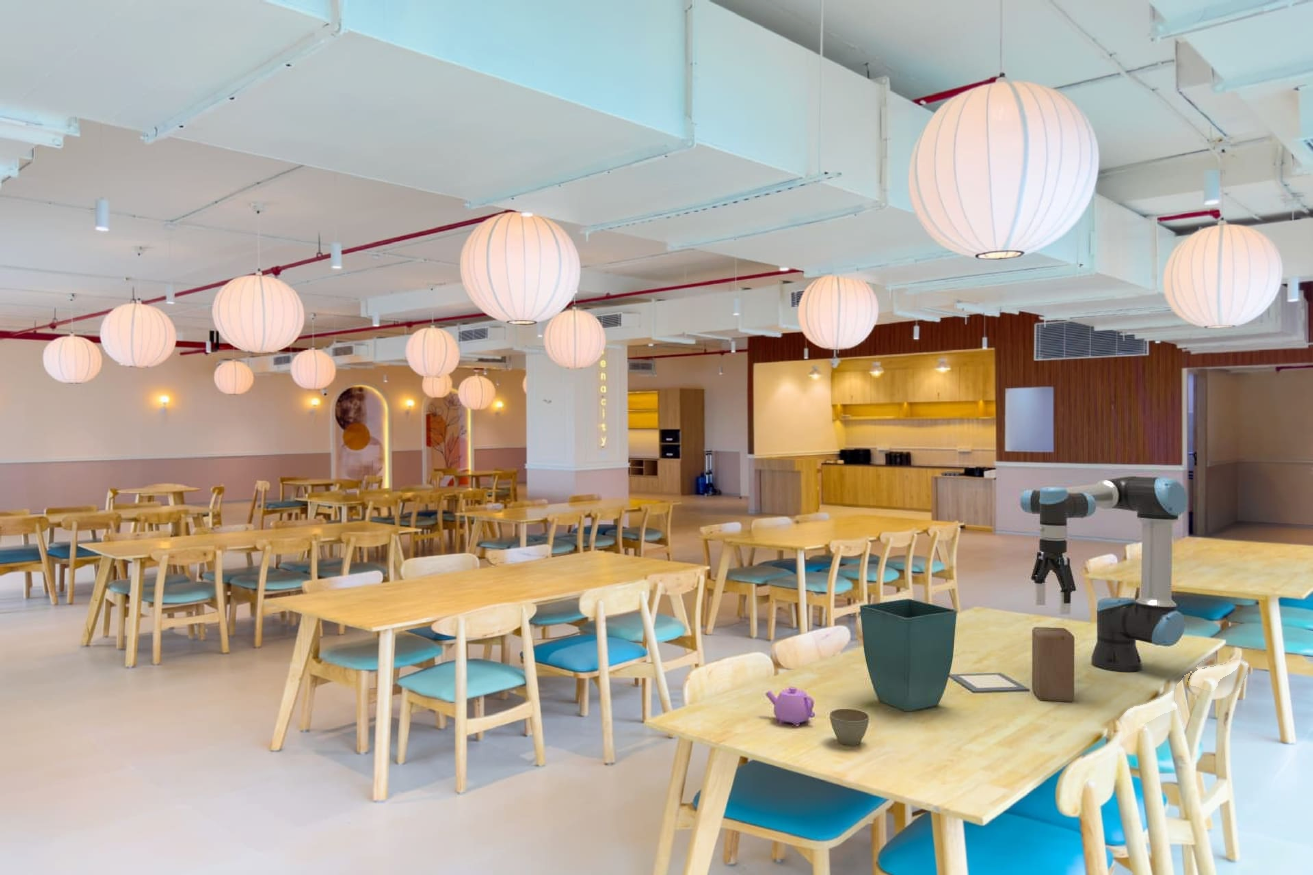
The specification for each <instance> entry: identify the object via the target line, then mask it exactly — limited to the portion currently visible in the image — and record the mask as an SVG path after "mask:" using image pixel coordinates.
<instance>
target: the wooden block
mask: <svg viewBox="0 0 1313 875" xmlns="http://www.w3.org/2000/svg"><path fill="white" fill-rule="evenodd" d="M1031 633H1032V634H1031V643H1032V644H1031V647H1032V648H1031V689H1032V692H1034V694H1035V695H1036V697H1037V698H1038V699H1039V700H1041V701H1053V702H1054V701H1055V702H1069V703H1071V702H1074V699H1075V636H1074V634H1072V633H1071V632H1070V631H1069V630H1068V629H1067V628H1065V627H1050V626H1048V627H1044V626H1035V627H1033V628H1032V630H1031Z"/></svg>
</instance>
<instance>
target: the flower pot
mask: <svg viewBox="0 0 1313 875" xmlns="http://www.w3.org/2000/svg"><path fill="white" fill-rule="evenodd" d="M859 611H860V620H861V621H860V622H861V633H862V634H861V635H862V644H863V653H864V659H865V663H866V667H867V671H868V675H869V678H870V680H871V684H872V687H873V690H874V692H875V696H876V698H877V700H878V701H879V702H882V703H885V704H887V705H890V706H892V707H895V708H897V709H899V710H902V711H905V712H912V711H918V710H922V709H927V708H932V707H936V706H939V705H940V703H941V700H942V698H943V696H944V694H945V690H946V687H947V684H948V681H949V678H950V677H949V674H951V668H952V664H953V661H954V660H953V659H954V648H955V637H956V624H957V615H958V614H957V613H958V612H957V610H955V609H953V608H952V609H951V608H947V607H945V606H941V605H937V604H932V603H927V602H923V601H920V600H915V599H911V598H905V599H904V598H903V599H897V600H889V601H883V602H876V603H875V602H874V603H869V604H868V603H867V604H863V605H862V604H861V605H859Z"/></svg>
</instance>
